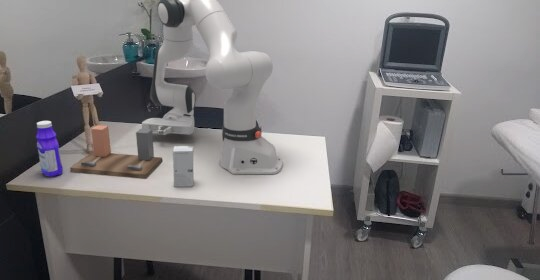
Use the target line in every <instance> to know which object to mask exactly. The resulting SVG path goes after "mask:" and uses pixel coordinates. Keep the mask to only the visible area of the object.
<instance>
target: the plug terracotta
mask: <svg viewBox="0 0 540 280" xmlns="http://www.w3.org/2000/svg"><path fill="white" fill-rule="evenodd" d="M90 129H91V130H90V131H91V138H92V144H93V145H92V147H93V152H94V155H95V156H103V157H106V156H107V155H108V154H110V153H112V148H111V140H110V130H109V126H108V125H99V124H97V125H95V126H93V127H91V128H90Z"/></svg>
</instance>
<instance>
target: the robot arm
mask: <svg viewBox="0 0 540 280" xmlns="http://www.w3.org/2000/svg"><path fill="white" fill-rule="evenodd" d="M156 10H157V15H158V18H159V21H160V22H161V24H162V25H163V28H162V29H163V31H162V33H163V34H162V35H163V41H162V44H161V45H160V46H158V47H157V49H156V51H155V54H154V60H153V61H154V62H153V71H152V80H151V86H150V90H149V99H150V100H151V101H152V103H153V104H154V105H155V106H160V107H161V106H164V107H165V106H166V107H173V108H172V109H170V110H169V111H168V112H167V113H165V114H164V115H163V117H161V118H160V117H151V118H147V119H144V120H143V121H141V129H152V133H153V132H154V133H157V135H163V136H166V135H168V134H175V135H176V134H179V135H192V134H193V133H194V131H195V117H194V109H195V107H196V101H197V98H196V93H195V91H194V89H193V88H192V87H191V86H190V85H186V84H178V83H177V84H176V83H170V82H167V81H165V75H166V67H167V64H168V63H170V62H175V61H180V60H182V59H184V58H186V57H187V56H188V55H190V53H191V51H192V50H193V45H194V43H193V40H194V38H193V26H195V28H196V29H197V31H198V33H199V35H200V36H201V38H202V40H203V42H204V44H205V46H206V48H207V51H208V55H209V58H208V61H207V63H206V66H205V70H204V73H205V74H204V75H205V78H206V81H207V83H208V84H209V85H210V86H211V87H212V88H214V89H216V90H232V91H231V92H230V95H229V96H228V97H227V98H226V100H225V101H224V103H223V125H222V128H221V138H222V141H223V142H222V150H221V154H220V155H221V156H220V159H219V161H218V162H219V163H218V164H219V166H220V167H221V168H223V169H225V170H228V171H229V173H231V175H232V174H233V175H276V174H278V173H280V171H282V169H283V165H284V164H283V158H282V157H280V156H279V155H277V150H276V147H275V145H274V144H272V143H271V142H270V141H269V140H267V139H266V138H264V137H263V136H262V134H263V133H262V126H261V125H260V127H259V125H257V109H258V102H259V98H260V95H261V92H262V91H263V90H262V89H263V87H264V85H265V83H266V82H267V80H268V79H269V78H270V77H271V75H272V73H273V61H272V59H271V57H270V56H269V55H268V54H267V53H265V52H262V51H255V50H250V51H243V52H241V51H240V52H239V51H238V50H237V49H236V47H235V43H236V41H237V39H238V32H237V29H236V28H235V26H234V24H233V22H232V21H231V19H230V18H229V15H228V14H227V12H226V11H225V9H224V8H223V6H222V5H221V4H220V2H219V1H218V0H159V1H158V3H157V9H156Z"/></svg>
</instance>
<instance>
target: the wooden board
mask: <svg viewBox="0 0 540 280" xmlns="http://www.w3.org/2000/svg"><path fill="white" fill-rule="evenodd" d="M162 162H163V157H160V156H159V157H158V156H154V157H153V158H152V159H151V160H150V161H149V160H138V154H137V155H136V154H125V153H115V152H113V153H112V152H111V153H110V154H108V155H107V156H106V157H103V156H95V155H94V151H91V152H90V153H89V154H87V155H86V156H85V157H82V158H81V159H80V160H79V161H77V162H76V163H74V164H73V165H72V166H70V168H69V170H70V172H71V173H79V174H80V173H81V174H92V175H102V176H113V177H125V178H135V179H148V178H149V177H150V175H151V174H152V173H153V172H155V170H156V169H157V167H159V166H160V164H162Z"/></svg>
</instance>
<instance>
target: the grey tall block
mask: <svg viewBox="0 0 540 280" xmlns="http://www.w3.org/2000/svg"><path fill="white" fill-rule="evenodd" d="M135 136H136V147H137V155H138V160H149V161H150V160H151V159H152V158H153V157H155V151H154V139H153V132H152V129H142V128H140V129H138V130H137V131H136V132H135Z"/></svg>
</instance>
